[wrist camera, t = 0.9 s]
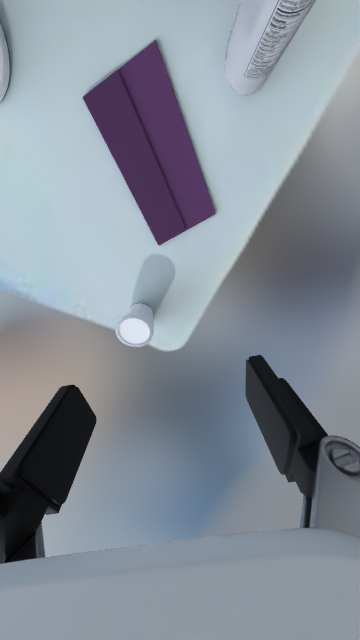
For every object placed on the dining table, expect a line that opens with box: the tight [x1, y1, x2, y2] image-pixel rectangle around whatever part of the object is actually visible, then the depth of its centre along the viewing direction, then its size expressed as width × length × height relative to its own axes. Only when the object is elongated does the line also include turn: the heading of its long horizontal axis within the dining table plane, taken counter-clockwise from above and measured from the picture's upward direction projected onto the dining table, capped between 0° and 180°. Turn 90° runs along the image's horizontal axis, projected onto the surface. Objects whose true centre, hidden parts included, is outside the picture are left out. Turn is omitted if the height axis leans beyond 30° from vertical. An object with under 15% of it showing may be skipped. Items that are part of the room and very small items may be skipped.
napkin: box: [83, 40, 215, 245], centre depth 26 cm, size 20×11×1 cm, turn 26°
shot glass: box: [115, 303, 154, 347], centre depth 35 cm, size 7×7×7 cm
